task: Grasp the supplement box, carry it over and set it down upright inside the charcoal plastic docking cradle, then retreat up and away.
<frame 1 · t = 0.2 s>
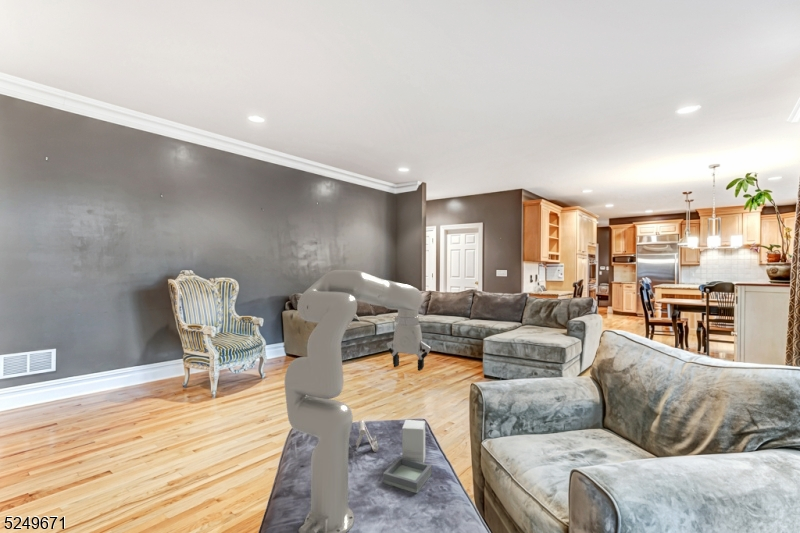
hand: (408, 368, 137), 30 cm above the table, fingers open, 9 cm apart
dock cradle: (407, 478, 119), on the table
portable electronic device stand: (366, 447, 140), on the table
supplement box: (414, 461, 130), on the table
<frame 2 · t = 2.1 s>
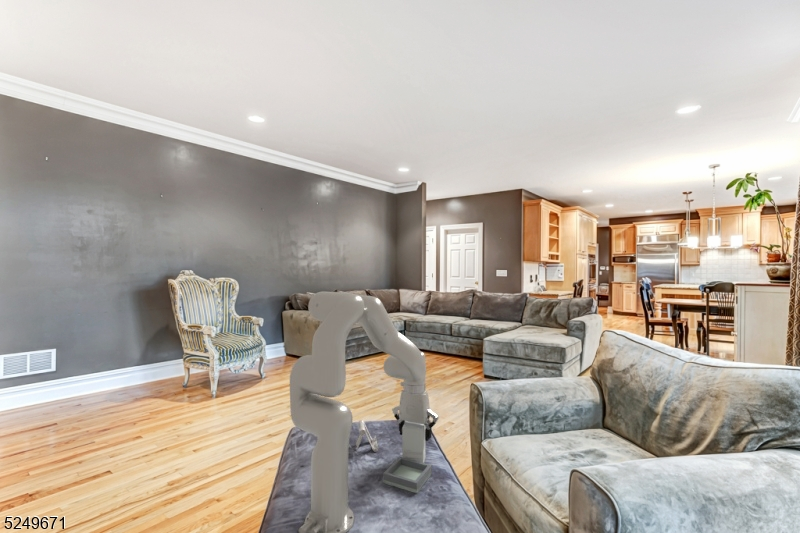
hand: (415, 436, 131), 8 cm above the table, fingers open, 9 cm apart
nothing on the table moved.
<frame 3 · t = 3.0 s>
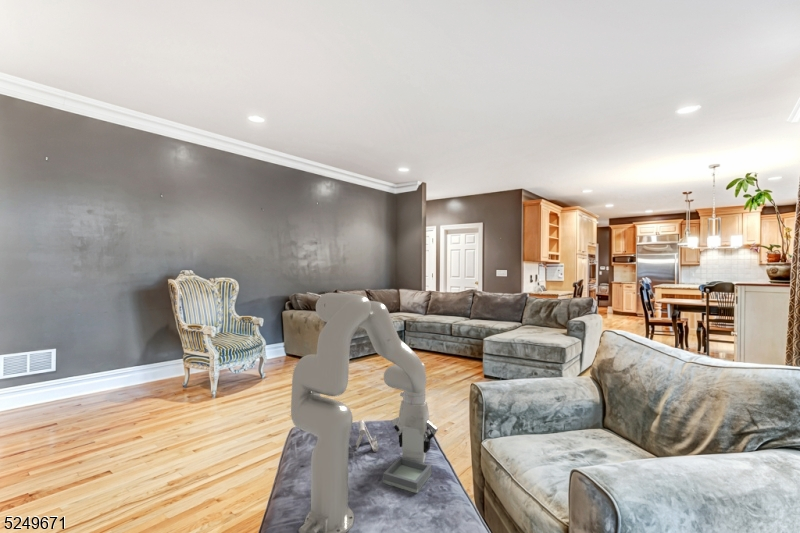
hand: (414, 448, 130), 4 cm above the table, fingers closed on supplement box, 8 cm apart
supplement box: (414, 461, 130), on the table, touching gripper
everything else where it was.
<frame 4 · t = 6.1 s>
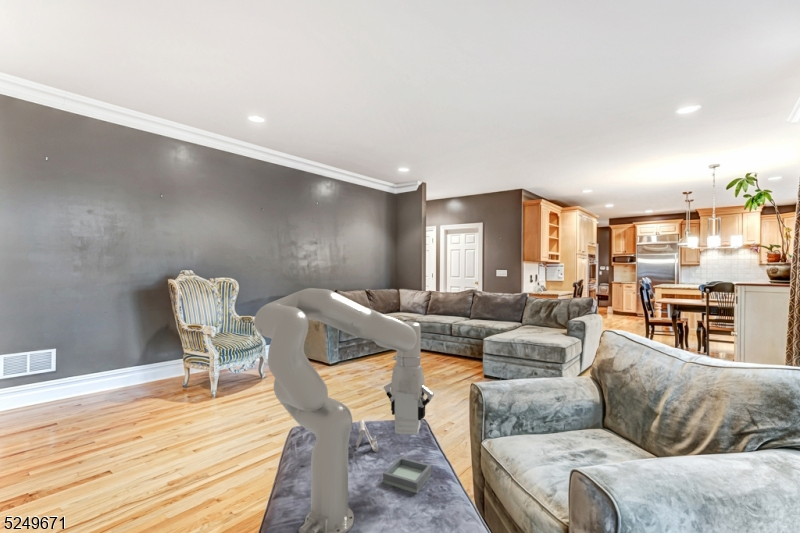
hand: (407, 415, 119), 20 cm above the table, fingers closed on supplement box, 8 cm apart
supplement box: (407, 430, 119), point 15 cm above the table, touching gripper
everything else where it was.
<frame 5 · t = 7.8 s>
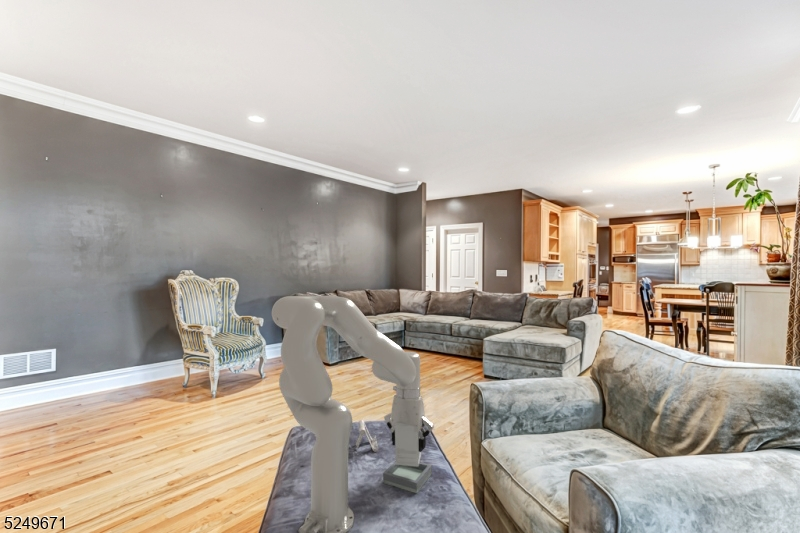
hand: (408, 446, 119), 10 cm above the table, fingers closed on supplement box, 8 cm apart
supplement box: (408, 460, 119), point 6 cm above the table, touching gripper
everything else where it was.
when the fingers open (6 cm above the table, at t = 9.2 s): supplement box drops 1 cm, resting on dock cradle.
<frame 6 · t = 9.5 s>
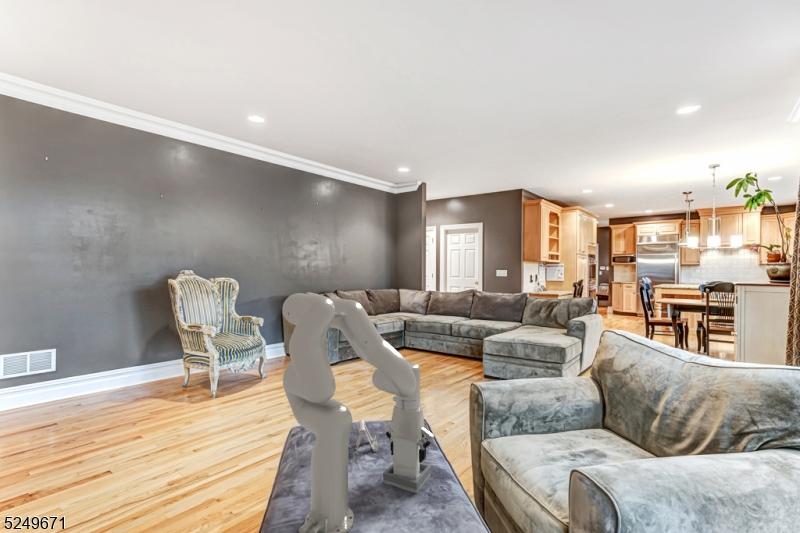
hand: (407, 457, 119), 7 cm above the table, fingers open, 9 cm apart
supplement box: (406, 476, 119), point 1 cm above the table, touching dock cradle
everything else where it was.
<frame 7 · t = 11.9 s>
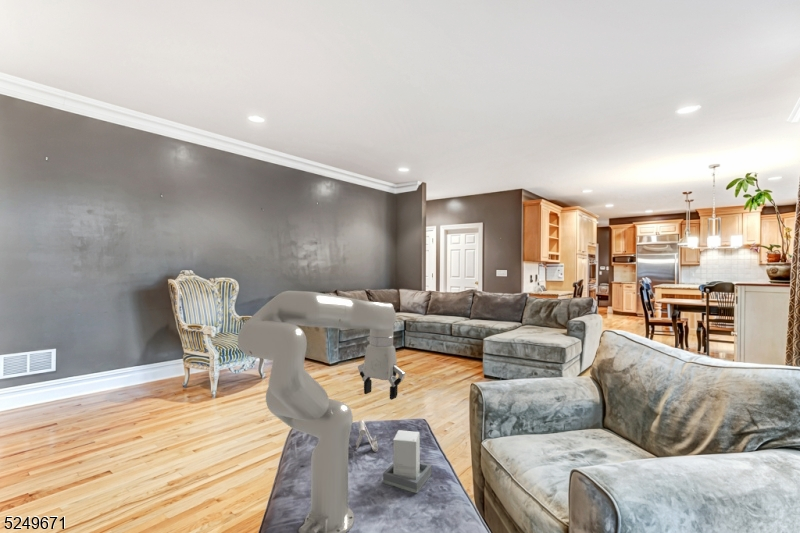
hand: (380, 395, 120), 26 cm above the table, fingers open, 9 cm apart
nothing on the table moved.
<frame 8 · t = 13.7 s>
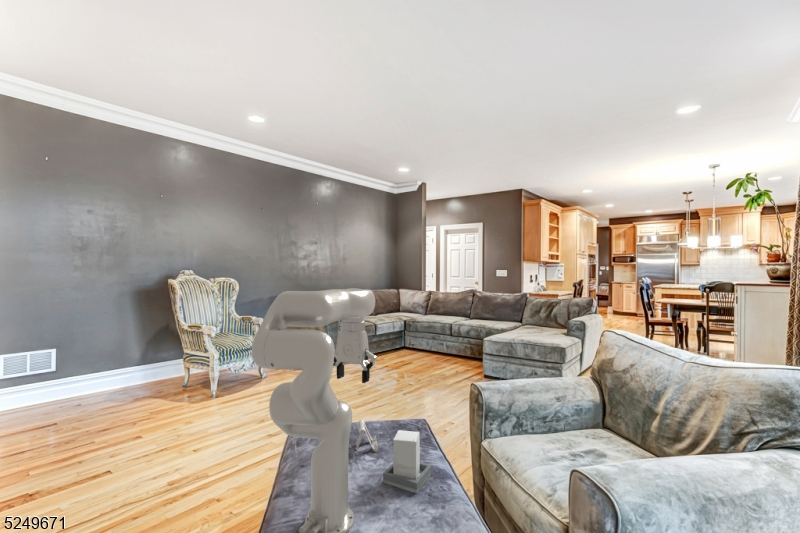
hand: (352, 379, 122), 30 cm above the table, fingers open, 9 cm apart
nothing on the table moved.
at the end: supplement box 0.4 cm off-centre on the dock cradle, point 0.8 cm above the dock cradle's base; supplement box tilted 0°; the gripper is holding nothing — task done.
